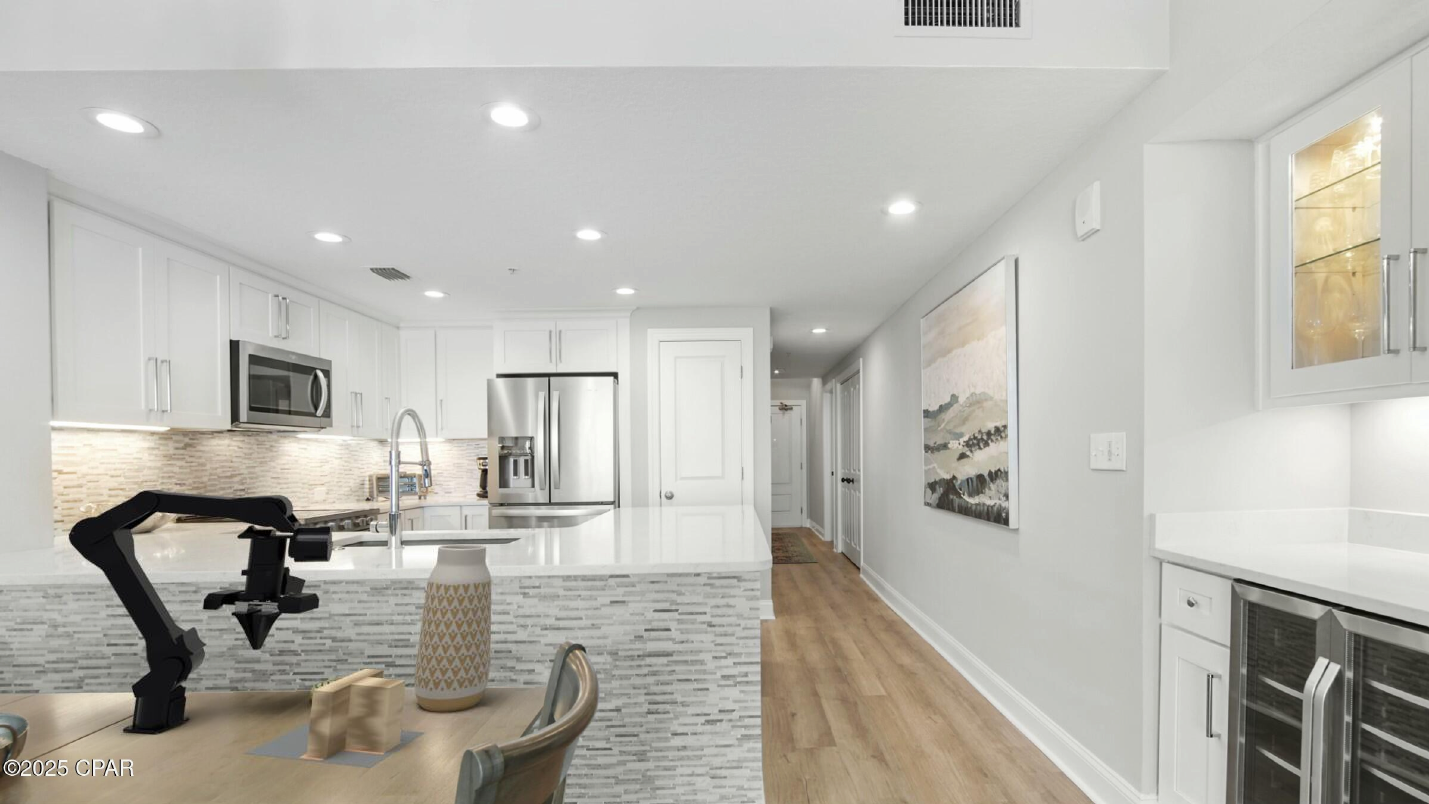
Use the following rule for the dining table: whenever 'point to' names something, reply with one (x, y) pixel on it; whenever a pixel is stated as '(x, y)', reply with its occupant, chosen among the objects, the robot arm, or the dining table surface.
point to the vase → (455, 631)
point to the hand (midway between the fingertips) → (256, 649)
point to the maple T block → (356, 715)
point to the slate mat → (297, 744)
